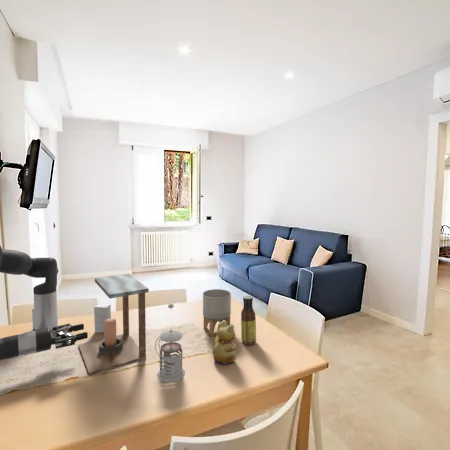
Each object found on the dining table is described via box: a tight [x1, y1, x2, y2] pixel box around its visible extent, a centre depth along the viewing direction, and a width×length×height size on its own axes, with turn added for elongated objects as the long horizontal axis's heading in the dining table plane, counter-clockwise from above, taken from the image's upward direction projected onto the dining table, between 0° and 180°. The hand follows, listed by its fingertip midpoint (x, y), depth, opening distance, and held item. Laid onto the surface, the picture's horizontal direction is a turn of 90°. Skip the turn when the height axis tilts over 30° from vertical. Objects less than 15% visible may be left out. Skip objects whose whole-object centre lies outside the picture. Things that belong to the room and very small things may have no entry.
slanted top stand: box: [78, 273, 150, 376], centre depth 117 cm, size 21×26×27 cm
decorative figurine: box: [212, 320, 237, 365], centre depth 112 cm, size 10×8×15 cm
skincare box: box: [93, 303, 112, 334], centre depth 137 cm, size 6×4×12 cm
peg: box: [103, 318, 117, 347], centre depth 117 cm, size 4×4×12 cm
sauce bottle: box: [240, 295, 257, 346], centre depth 126 cm, size 7×6×20 cm
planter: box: [202, 288, 232, 337], centre depth 138 cm, size 13×13×18 cm
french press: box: [154, 303, 186, 383], centre depth 103 cm, size 10×12×25 cm
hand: (85, 330), depth 112 cm, fingers open, 8 cm apart
